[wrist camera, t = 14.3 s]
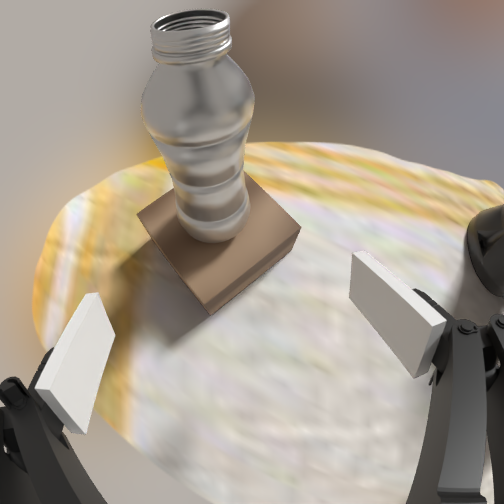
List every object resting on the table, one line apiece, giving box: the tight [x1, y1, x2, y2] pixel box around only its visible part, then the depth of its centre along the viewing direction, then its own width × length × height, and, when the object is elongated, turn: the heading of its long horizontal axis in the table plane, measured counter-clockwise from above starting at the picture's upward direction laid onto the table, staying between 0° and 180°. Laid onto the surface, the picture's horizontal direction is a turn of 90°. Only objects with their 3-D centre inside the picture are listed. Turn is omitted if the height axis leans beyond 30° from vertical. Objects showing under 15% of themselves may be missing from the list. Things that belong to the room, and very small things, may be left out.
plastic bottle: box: [141, 9, 254, 243], centre depth 19 cm, size 6×7×20 cm
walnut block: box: [137, 172, 301, 316], centre depth 31 cm, size 12×12×6 cm
